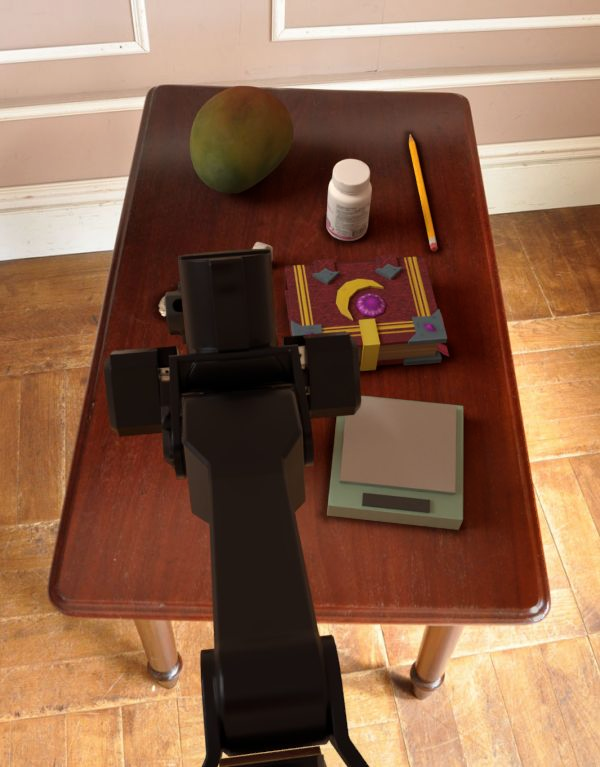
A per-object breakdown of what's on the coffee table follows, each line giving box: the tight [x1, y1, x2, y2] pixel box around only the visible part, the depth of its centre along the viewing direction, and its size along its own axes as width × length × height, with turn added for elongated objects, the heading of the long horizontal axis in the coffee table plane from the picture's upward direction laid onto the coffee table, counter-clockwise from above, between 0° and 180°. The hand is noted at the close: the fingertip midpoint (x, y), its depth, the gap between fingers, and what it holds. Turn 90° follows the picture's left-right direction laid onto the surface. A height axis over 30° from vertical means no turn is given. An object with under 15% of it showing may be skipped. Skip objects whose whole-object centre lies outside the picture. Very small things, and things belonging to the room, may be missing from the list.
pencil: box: [408, 134, 439, 252], centre depth 101 cm, size 1×19×1 cm, turn 4°
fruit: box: [189, 85, 295, 195], centre depth 98 cm, size 12×13×10 cm
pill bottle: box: [325, 158, 373, 242], centre depth 94 cm, size 5×5×8 cm
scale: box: [326, 395, 464, 531], centre depth 80 cm, size 12×12×3 cm
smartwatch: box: [252, 241, 274, 261], centre depth 92 cm, size 4×2×4 cm, turn 158°
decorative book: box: [284, 253, 450, 372], centre depth 88 cm, size 11×16×5 cm
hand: (231, 364), depth 72 cm, fingers closed on cup, 7 cm apart
